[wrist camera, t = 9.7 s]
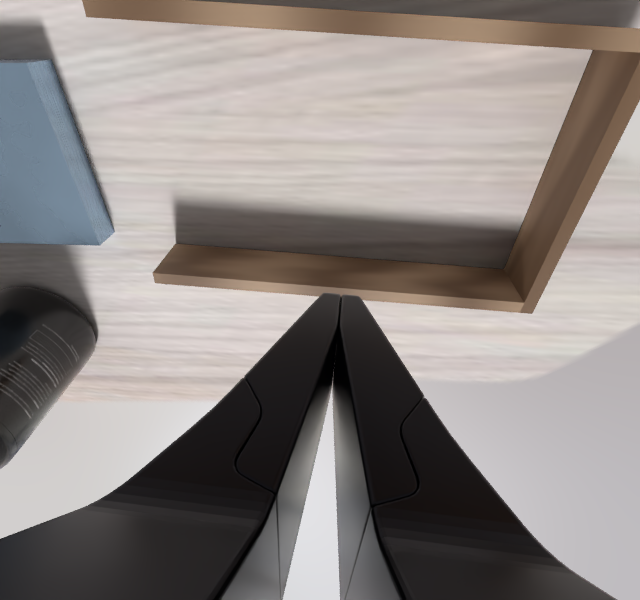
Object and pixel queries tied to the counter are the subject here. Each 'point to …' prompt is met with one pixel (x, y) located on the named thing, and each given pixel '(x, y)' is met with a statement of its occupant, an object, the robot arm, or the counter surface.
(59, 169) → the cover plate
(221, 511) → the robot arm
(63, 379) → the supplement bottle
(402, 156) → the counter surface
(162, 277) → the open box
